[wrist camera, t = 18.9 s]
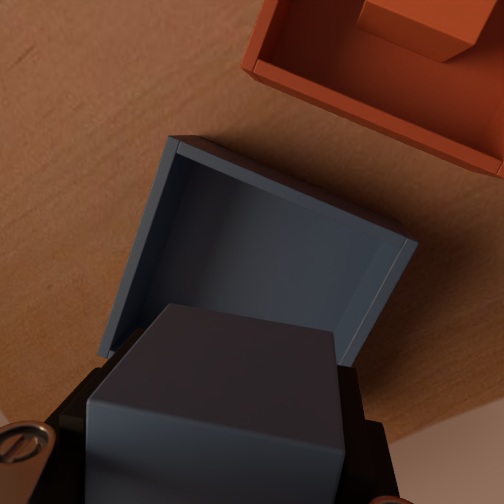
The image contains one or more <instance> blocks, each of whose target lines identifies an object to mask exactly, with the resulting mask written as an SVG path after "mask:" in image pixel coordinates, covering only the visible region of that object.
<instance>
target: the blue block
mask: <svg viewBox="0 0 504 504" xmlns="http://www.w3.org/2000/svg"><path fill="white" fill-rule="evenodd" d="M344 458H345V444H344V434H343V424H342V414H341V403H340V393H339V383H338V373H337V363H336V353H335V342H334V334H333V332H331V331H325V330H320V329H314V328H308V327H303V326H297V325H291V324H286V323H280V322H274V321H269V320H263V319H257V318H252V317H246V316H240V315H235V314H229V313H223V312H218V311H212V310H206V309H201V308H195V307H189V306H184V305H178V304H172V303H170V304H168V305H167V306H166V308H165V309H164V310H163V311H162V312H161V313H160V315H159V316H158V317H157V318H156V319H155V320H154V322H153V323H152V324H151V325H150V326H149V328H148V329H147V330H146V331H145V332H144V333H143V335H142V336H141V337H140V338H139V339H138V340H137V342H136V343H135V344H134V345H133V346H132V348H131V349H130V350H129V351H128V352H127V353H126V355H125V356H124V357H123V358H122V359H121V360H120V362H119V363H118V364H117V365H116V366H115V367H114V369H113V370H112V371H111V372H110V373H109V375H108V376H107V377H106V378H105V379H104V380H103V382H102V383H101V384H100V385H99V386H98V387H97V389H96V390H95V391H94V392H93V393H92V395H91V396H90V397H89V398H88V400H87V406H86V457H85V504H334V502H335V497H336V493H337V488H338V484H339V480H340V475H341V471H342V466H343V462H344Z"/></svg>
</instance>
